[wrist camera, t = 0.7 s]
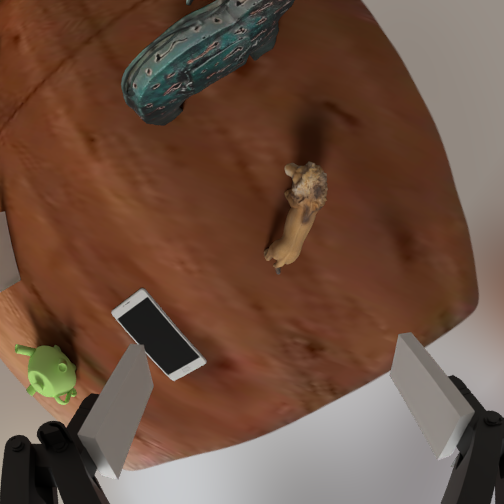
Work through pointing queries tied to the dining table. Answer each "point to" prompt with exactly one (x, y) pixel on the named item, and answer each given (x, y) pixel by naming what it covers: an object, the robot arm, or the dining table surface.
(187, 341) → the smartphone
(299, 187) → the lion figurine
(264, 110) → the dining table surface
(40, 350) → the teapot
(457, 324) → the dining table surface
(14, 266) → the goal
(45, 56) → the dining table surface
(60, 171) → the dining table surface
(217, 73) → the teal arched figure
